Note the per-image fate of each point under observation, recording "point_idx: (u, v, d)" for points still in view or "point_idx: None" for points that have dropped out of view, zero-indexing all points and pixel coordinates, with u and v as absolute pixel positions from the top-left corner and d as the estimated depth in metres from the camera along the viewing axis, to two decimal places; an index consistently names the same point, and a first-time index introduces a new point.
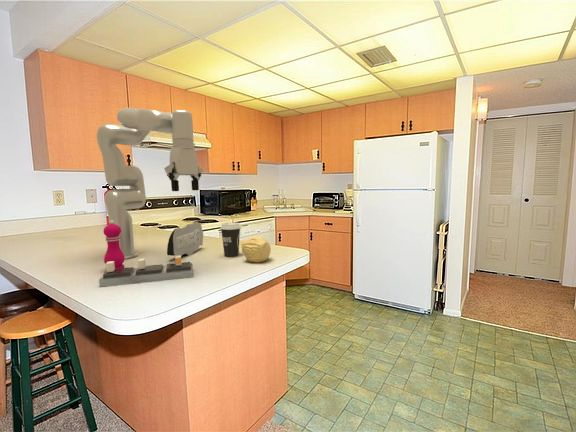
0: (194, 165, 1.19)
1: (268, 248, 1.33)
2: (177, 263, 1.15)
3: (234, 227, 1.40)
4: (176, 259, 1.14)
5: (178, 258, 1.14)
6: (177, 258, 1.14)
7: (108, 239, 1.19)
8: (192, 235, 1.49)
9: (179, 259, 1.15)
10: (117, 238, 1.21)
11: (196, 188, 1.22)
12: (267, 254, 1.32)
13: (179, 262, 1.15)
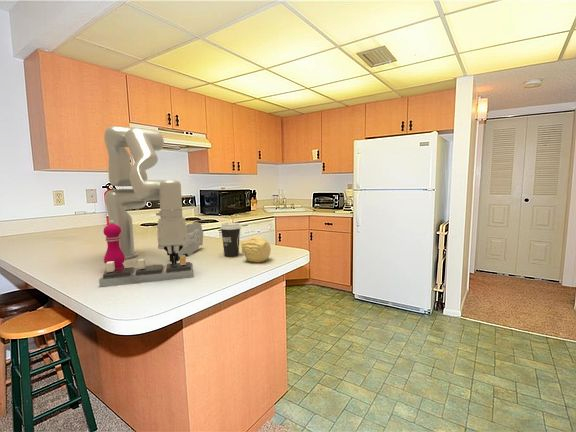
0: None
1: (268, 248, 1.33)
2: (181, 263, 1.15)
3: (234, 227, 1.40)
4: (180, 259, 1.15)
5: (182, 258, 1.15)
6: (181, 258, 1.15)
7: (108, 239, 1.19)
8: (192, 235, 1.49)
9: (183, 259, 1.15)
10: (117, 238, 1.21)
11: None
12: (267, 254, 1.32)
13: (183, 262, 1.15)
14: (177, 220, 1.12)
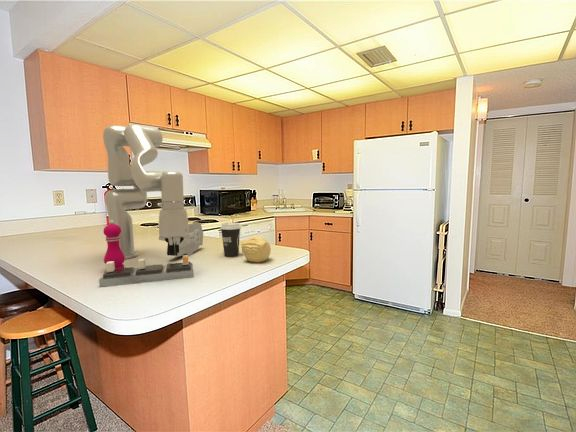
0: None
1: (268, 248, 1.33)
2: (184, 262, 1.15)
3: (234, 227, 1.40)
4: (183, 258, 1.15)
5: (185, 257, 1.15)
6: (184, 257, 1.15)
7: (108, 239, 1.19)
8: (192, 235, 1.49)
9: (186, 258, 1.15)
10: (117, 238, 1.21)
11: None
12: (267, 254, 1.32)
13: (186, 261, 1.16)
14: (179, 212, 1.12)
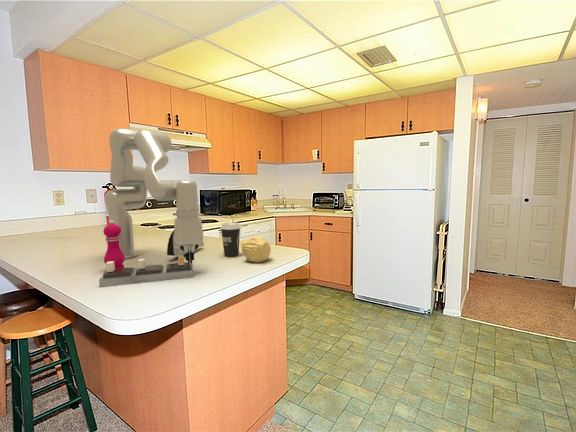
0: None
1: (268, 248, 1.33)
2: (180, 263, 1.15)
3: (234, 227, 1.40)
4: (179, 259, 1.15)
5: (181, 258, 1.15)
6: (180, 258, 1.15)
7: (108, 239, 1.19)
8: None
9: (182, 259, 1.15)
10: (117, 238, 1.21)
11: None
12: (267, 254, 1.32)
13: (182, 262, 1.15)
14: (193, 220, 1.14)
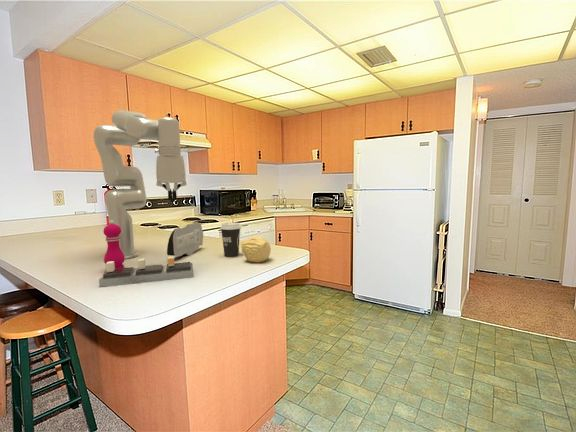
0: None
1: (268, 248, 1.33)
2: (170, 264, 1.14)
3: (234, 227, 1.40)
4: (169, 260, 1.13)
5: (171, 259, 1.14)
6: (170, 259, 1.14)
7: (108, 239, 1.19)
8: (192, 235, 1.49)
9: (172, 260, 1.14)
10: (117, 238, 1.21)
11: None
12: (267, 254, 1.32)
13: (172, 263, 1.14)
14: (175, 157, 1.14)
